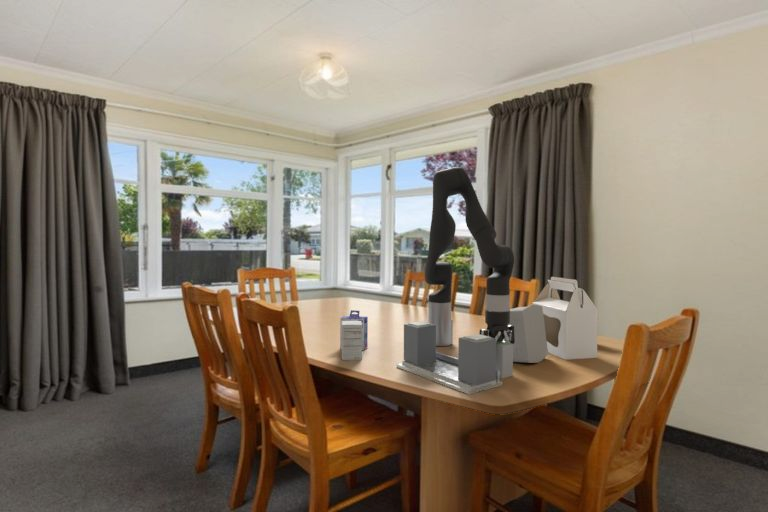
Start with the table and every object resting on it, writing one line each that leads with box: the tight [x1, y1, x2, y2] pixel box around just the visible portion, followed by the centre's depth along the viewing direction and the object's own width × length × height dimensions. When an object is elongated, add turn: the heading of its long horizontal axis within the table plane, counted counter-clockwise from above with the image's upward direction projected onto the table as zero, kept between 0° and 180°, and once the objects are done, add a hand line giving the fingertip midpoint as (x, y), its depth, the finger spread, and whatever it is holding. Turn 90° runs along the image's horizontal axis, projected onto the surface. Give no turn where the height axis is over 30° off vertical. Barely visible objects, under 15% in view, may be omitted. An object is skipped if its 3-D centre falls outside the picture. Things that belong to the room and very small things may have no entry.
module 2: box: [457, 333, 496, 386], centre depth 126 cm, size 8×7×12 cm
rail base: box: [396, 351, 503, 395], centre depth 137 cm, size 14×32×4 cm, turn 36°
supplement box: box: [341, 321, 363, 361], centre depth 157 cm, size 7×7×13 cm
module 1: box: [403, 321, 437, 365], centre depth 146 cm, size 8×7×12 cm
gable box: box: [531, 276, 599, 361], centre depth 167 cm, size 22×13×28 cm, turn 12°
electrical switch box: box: [509, 304, 549, 364], centre depth 158 cm, size 15×15×20 cm
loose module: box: [496, 341, 514, 379], centre depth 139 cm, size 5×8×10 cm, turn 36°
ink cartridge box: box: [339, 309, 369, 351], centre depth 171 cm, size 10×6×14 cm, turn 78°
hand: (496, 360), depth 138 cm, fingers open, 8 cm apart
